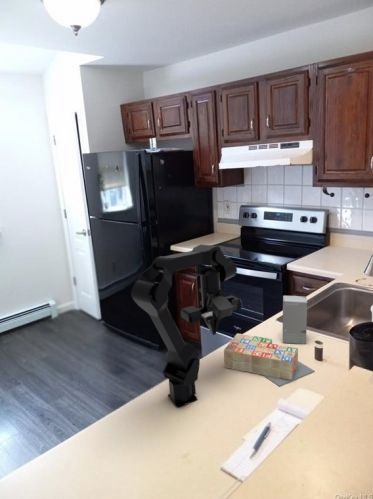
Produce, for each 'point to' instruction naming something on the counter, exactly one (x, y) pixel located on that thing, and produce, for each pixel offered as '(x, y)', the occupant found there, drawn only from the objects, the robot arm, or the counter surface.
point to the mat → (299, 372)
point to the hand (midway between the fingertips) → (213, 334)
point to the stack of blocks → (261, 356)
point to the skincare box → (294, 319)
